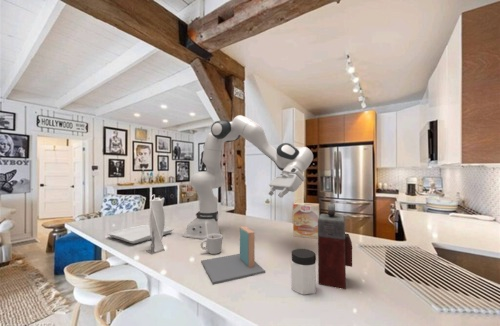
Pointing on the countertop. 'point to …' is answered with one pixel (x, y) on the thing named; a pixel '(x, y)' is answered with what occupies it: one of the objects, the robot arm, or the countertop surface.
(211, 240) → the cup
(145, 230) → the square plate
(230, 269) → the mat
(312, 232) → the coffeecake box
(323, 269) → the dark red grey-topped box
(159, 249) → the skyscraper
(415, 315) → the countertop surface
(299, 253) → the jar
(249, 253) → the peach rectangular block
